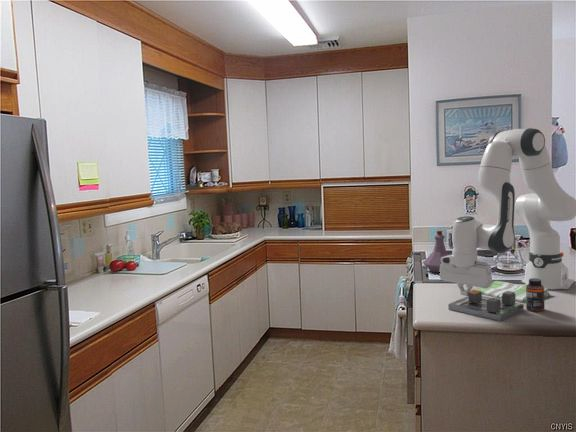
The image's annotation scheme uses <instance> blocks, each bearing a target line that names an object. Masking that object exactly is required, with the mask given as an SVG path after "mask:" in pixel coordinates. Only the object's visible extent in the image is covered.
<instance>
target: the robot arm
mask: <svg viewBox="0 0 576 432" xmlns="http://www.w3.org/2000/svg"><path fill="white" fill-rule="evenodd" d="M513 158H515V159H516V158H518V161H519V162H518V163H519V167H520V171H521V172H520V173H521V176H522V179H523V184H524V185H525V187H527V188H528V189H529V190H531V191H532V192H533V193H532V192H531V193H526V194H521V195H519V196H518V197H517V198H516V197H515V196H516V193H515V187H514V186H513V184H512V183H511V179H510V178H511V177H510V176H511V170H512V165H513V164H512V163H513ZM477 179H478V180H477V181H478V184H479V186H480V187H481V189H483V191H484V192H485V191H486V192H487V193H488V194H490V195H491V196H493V197H494V198H495V199H496V201H497V216H496V217H497V222H496V224H488V223H484V222H480V221H479V220H476V218H475V217H473V216H470V215H469V216H467V215H466V216H460V217H457V218H455V219H454V221H453V225H452V231H451V232H452V233H451V241H452V244H453V246H452V253H451V254H449V255H448V256H444V257H442V258H441V263H442V264H441V265H440V273H438V274H439V278H440V280H441V281H445V282H450V283H454V284H455V283H456V284H457V287H458V289H459V291H460V296H465V297H467V296H469V291H472V290H473V287H477V288H479V287H482V288H488V287H490V286H491V285H492V282H493V277H492V266H491V265H490V264H488V263H487V262H483V261H478V250H477V249H481V250H486V251H491V252H494V253H498V254H506V253H507V252H508V251H510V249H512V247H513V246H514V245H515V238H516V237H515V235H516V234H515V229H514V225H515V223H514V222H515V213H516V214H517V215H518V216H519V217H520V218H521V219H522V220H523V221H524V223H525V224H526V226H527V229H528V233H529V234H528V235H529V244H530V245H529V246H530V247H529V249H530V250H529V251H528V260H529V262H527V263H526V264H525V273H524V278H523V279H521V283H523V284H525V286H527V285H528V284H529V279H531V278H537V279H541V285H543V286H544V288H548V290H569V289H570V288H571V287H572V286H573V284H574V283H575V279H574V278H572V277H569V268H568V267H567V266H566V265H565V264H564V263H563V262H562V261H563V257H564V255H565V254H564V252H563V251H561V236H560V234H559V232H558V231H557V230H556V229H553V227H552V226H551V225H550V222H565V221H566V222H567V221H568V222H569V221H572V220H574V218H576V198H574V197H573V196H572V195H570V194H568V193H567V192H566V191H565V190H564V189H563V188H562V187H561V185H560V184H559V182H558V181H557V178H556V177H555V173H554V170H553V167H552V163H551V158H550V155H549V152H548V149H547V147H546V138H545V135H544V133H543V132H542V131H541V130H539V129H538V128H532V127H529V128H513V129H509V130H504V131H503V130H502V131H501V130H499V131H497V132H494V133H493V134H491V135H490V136H489V138H488V141H487V145H486V148H485V150H484V153H483V155H482V158H481V161H480V166H479V169H478V176H477ZM515 198H516V199H515ZM515 200H516V201H515ZM464 285H465V286H466V289H465V287H464Z"/></svg>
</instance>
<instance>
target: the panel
mask: <svg viewBox="0 0 576 432" xmlns="http://www.w3.org/2000/svg"><path fill="white" fill-rule="evenodd" d="M490 298H491V297H490V296H489V297H488V296H485V295H484V296H483V295H482V301H480V302H478V303H472V302H469V296H465V297H462V298H460V299H458V300H455V301H452V302H450V303H448V304H447V305H448V307H447V308H448V310H449V311H454V312H459V313H463V314H466V315H472V316H476V317H480V318H484V319H488V320H493V321H498V322H502V321H504V320H506V319H508V318H510V317H512V316H514V315H516V314H518V313H520V312H522V311H524V306H525V305H524V304H525V303H520V302H515V303H514V304H512V305H506V304H502V299H500V301H501V310H499V311H497V312H495V313H494V312H490V311H487V300H488V299H490Z"/></svg>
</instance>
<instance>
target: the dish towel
mask: <svg viewBox="0 0 576 432" xmlns="http://www.w3.org/2000/svg"><path fill="white" fill-rule="evenodd" d="M526 286H527V285H520V284H516V283H512V282H506V281H501V280H495V281H494V280H493V281H492V285H491V286H490V287H488V288H482V287H477V288H476V289H475V290H481V292H482V295H484V296H487V297H488V296H489V297H491V298H498V299H502V294H503V293H504V292H506V291H511V292H515V303H521V304H526ZM549 294H550V293H549V289H548V288H544V298H546V297H548V296H549Z"/></svg>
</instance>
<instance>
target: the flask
mask: <svg viewBox="0 0 576 432" xmlns="http://www.w3.org/2000/svg"><path fill="white" fill-rule="evenodd" d="M445 237H446V236H445V235H443V231H442V230H437V231H436V235H434V240H435V243H434V248H433V250H432V252H431V253H430V255H429V256H428V257H426V258H425V259H424V260H423V262H422V263H423V264H424V266H425V267H426V268H427V269H428V270H429V271H430V272H431V273H434V272H440V265H441V264H442V263H441V258H442V257H444V256H448V255H450V253H449V252H448V251H447V249H446V246H445V242H444V239H445Z"/></svg>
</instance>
